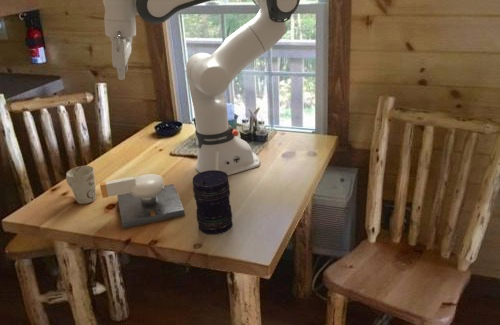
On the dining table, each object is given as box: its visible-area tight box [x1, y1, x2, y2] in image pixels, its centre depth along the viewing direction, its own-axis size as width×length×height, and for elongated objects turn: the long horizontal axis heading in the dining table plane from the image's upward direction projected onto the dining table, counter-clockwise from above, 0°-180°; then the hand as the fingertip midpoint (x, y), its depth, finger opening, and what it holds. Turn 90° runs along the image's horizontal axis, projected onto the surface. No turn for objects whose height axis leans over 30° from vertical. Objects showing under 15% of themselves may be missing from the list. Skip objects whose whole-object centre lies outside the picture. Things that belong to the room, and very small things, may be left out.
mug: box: [65, 165, 97, 205], centre depth 159 cm, size 8×13×10 cm, turn 58°
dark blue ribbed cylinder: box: [192, 170, 233, 236], centre depth 138 cm, size 10×10×15 cm
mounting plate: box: [116, 183, 186, 229], centre depth 151 cm, size 18×18×6 cm
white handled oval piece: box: [99, 173, 165, 199], centre depth 148 cm, size 18×10×5 cm, turn 108°
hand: (123, 75), depth 152 cm, fingers open, 8 cm apart
